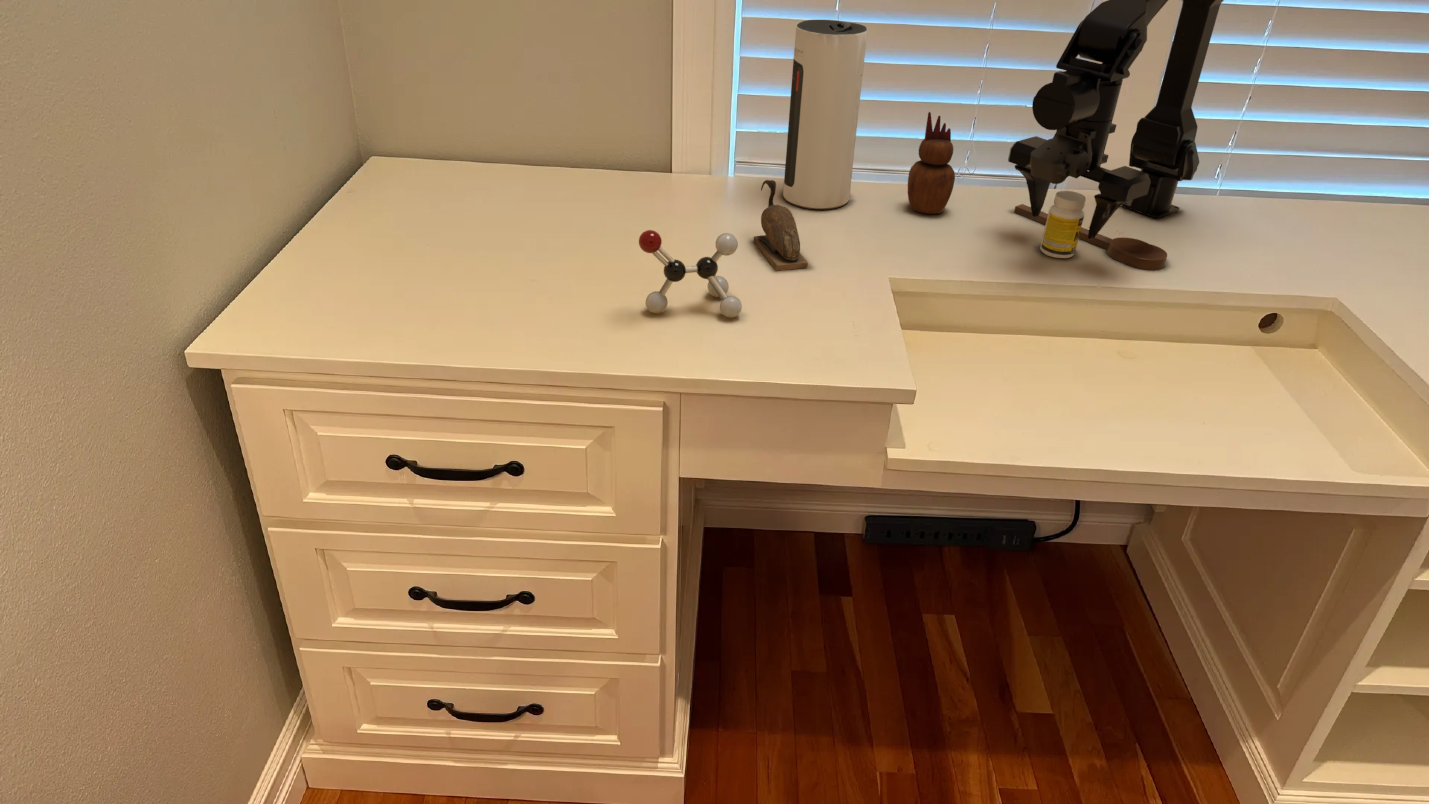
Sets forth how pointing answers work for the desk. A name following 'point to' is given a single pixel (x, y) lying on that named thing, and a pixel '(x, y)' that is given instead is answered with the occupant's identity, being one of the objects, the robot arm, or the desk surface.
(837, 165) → the speaker
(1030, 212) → the wooden spoon
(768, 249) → the figurine
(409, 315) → the desk surface
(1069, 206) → the supplement bottle
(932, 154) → the wooden figurine
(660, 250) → the molecular model
